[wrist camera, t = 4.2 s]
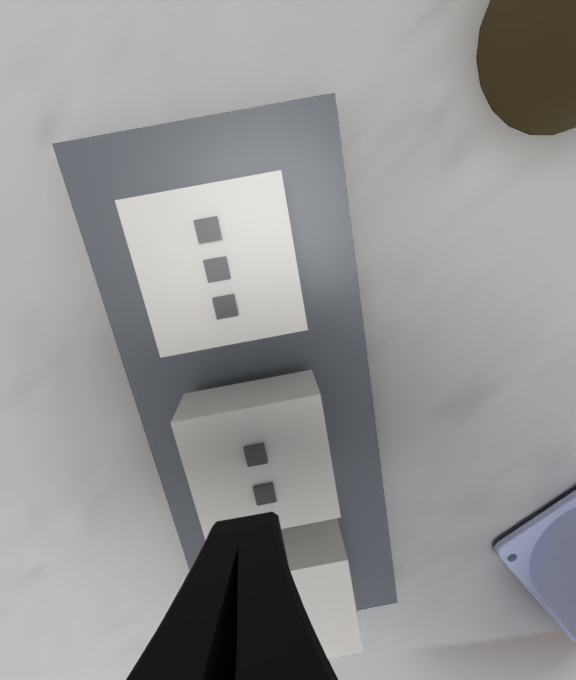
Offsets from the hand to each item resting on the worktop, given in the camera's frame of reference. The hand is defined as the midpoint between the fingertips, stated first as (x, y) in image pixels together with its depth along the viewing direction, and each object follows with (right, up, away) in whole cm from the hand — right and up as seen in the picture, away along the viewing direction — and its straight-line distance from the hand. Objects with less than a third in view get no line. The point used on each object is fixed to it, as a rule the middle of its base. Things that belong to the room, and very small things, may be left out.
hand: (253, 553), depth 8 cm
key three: (-2, +7, +6) cm, 10 cm away
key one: (+1, -6, +9) cm, 11 cm away
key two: (0, +1, +7) cm, 7 cm away
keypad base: (-1, +1, +9) cm, 9 cm away
